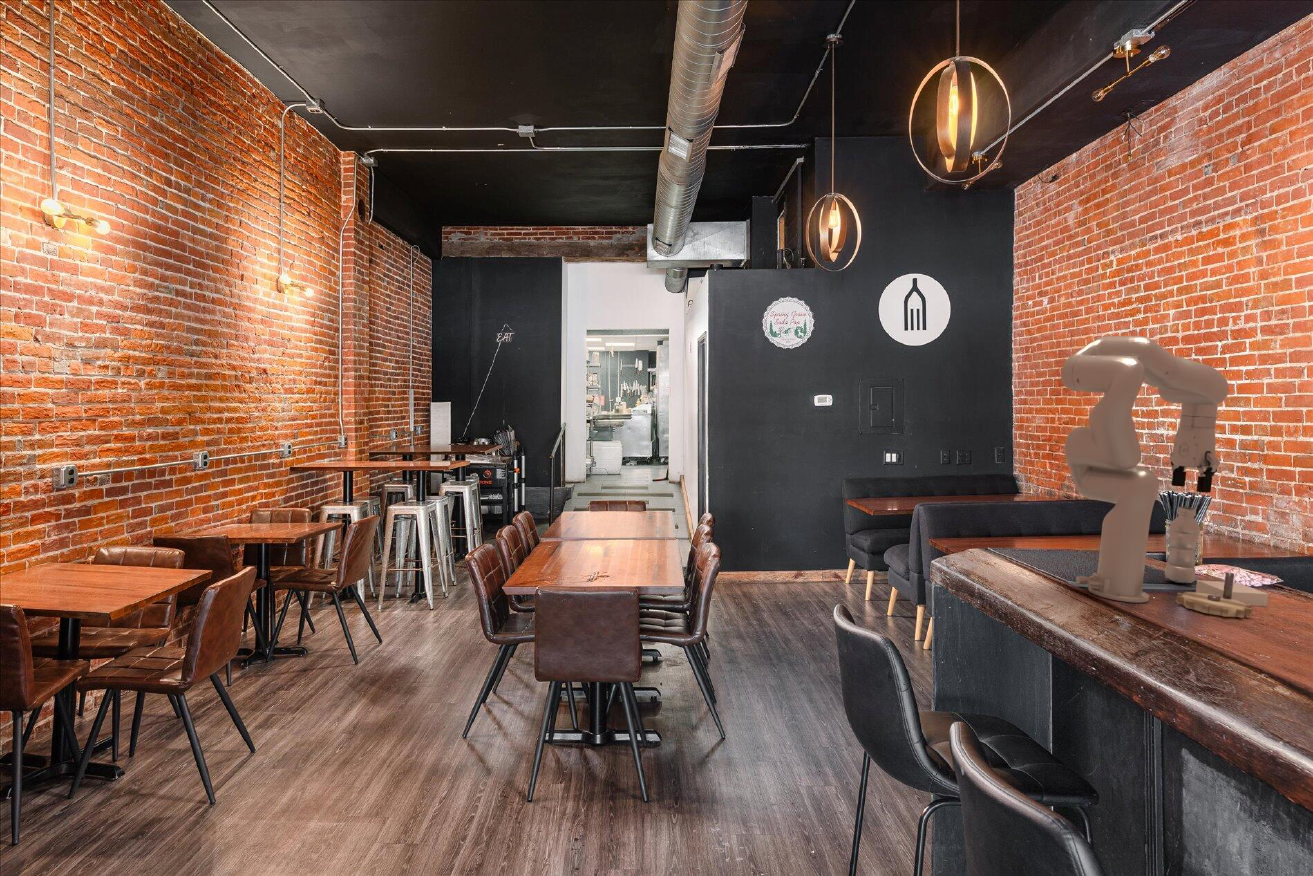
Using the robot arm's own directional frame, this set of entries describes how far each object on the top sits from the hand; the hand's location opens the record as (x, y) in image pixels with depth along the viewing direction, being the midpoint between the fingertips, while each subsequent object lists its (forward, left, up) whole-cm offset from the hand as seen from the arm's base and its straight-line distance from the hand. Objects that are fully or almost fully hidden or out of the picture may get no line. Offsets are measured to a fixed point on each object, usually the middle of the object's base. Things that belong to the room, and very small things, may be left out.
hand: (1190, 489), depth 196 cm
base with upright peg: (-8, -24, -25) cm, 36 cm away
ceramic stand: (+4, -13, -25) cm, 28 cm away
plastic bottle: (0, 0, -25) cm, 25 cm away
